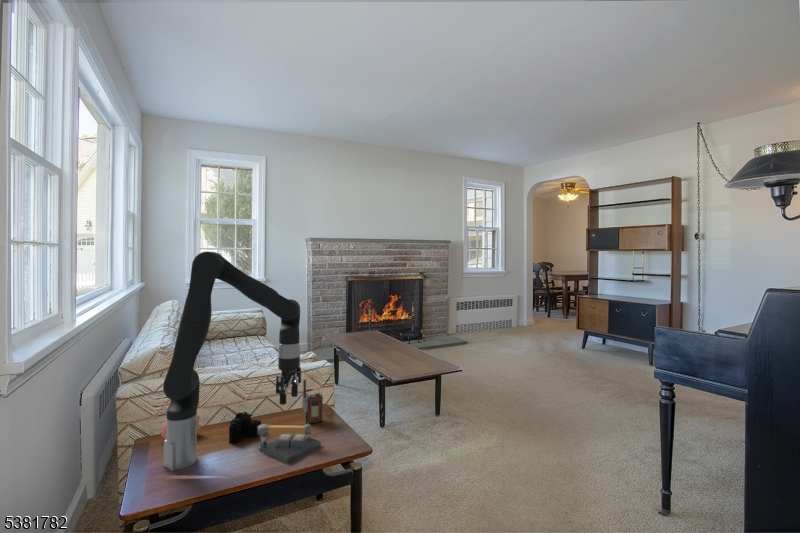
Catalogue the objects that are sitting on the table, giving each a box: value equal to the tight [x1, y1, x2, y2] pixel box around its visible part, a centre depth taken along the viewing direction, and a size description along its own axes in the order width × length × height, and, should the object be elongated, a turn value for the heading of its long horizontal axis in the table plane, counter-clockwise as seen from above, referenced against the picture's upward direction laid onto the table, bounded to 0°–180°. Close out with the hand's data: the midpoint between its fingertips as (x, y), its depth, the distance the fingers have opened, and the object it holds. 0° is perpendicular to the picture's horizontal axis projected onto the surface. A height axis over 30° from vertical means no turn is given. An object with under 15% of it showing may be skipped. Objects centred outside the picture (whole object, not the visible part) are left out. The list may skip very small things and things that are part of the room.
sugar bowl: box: [160, 414, 202, 440], centre depth 160 cm, size 12×14×10 cm
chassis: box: [259, 434, 322, 464], centre depth 150 cm, size 16×15×4 cm
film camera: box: [228, 411, 262, 445], centre depth 161 cm, size 15×10×9 cm, turn 178°
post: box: [257, 434, 268, 450], centre depth 151 cm, size 4×4×5 cm
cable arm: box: [257, 423, 312, 436], centre depth 151 cm, size 20×4×3 cm, turn 90°
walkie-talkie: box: [301, 379, 324, 425], centre depth 173 cm, size 9×4×20 cm, turn 113°
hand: (288, 400), depth 144 cm, fingers open, 8 cm apart
